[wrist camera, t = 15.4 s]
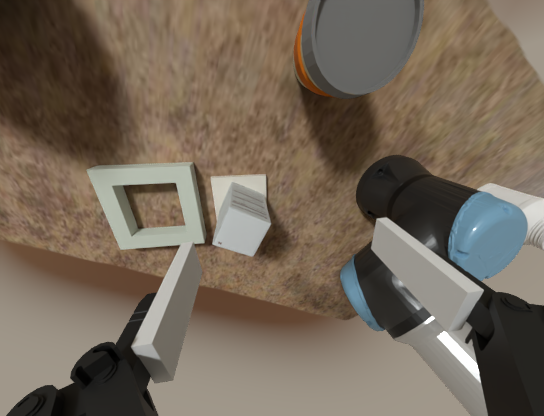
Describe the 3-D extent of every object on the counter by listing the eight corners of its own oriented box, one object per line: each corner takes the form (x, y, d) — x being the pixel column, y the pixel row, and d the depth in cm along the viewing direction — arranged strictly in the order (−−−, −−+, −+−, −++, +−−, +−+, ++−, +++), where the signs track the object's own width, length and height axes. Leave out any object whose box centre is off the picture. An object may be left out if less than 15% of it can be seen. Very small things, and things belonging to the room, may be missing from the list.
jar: (509, 196, 52) (599, 225, 39) (479, 225, 56) (553, 261, 42) (485, 178, 49) (575, 204, 36) (455, 210, 52) (527, 244, 39)
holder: (193, 162, 38) (189, 166, 36) (206, 235, 46) (204, 243, 43) (97, 165, 36) (86, 169, 34) (128, 241, 44) (120, 249, 41)
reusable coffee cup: (266, 54, 32) (283, 16, 19) (328, -12, 30) (396, -111, 16) (311, 117, 38) (348, 121, 24) (366, 65, 35) (442, 37, 22)
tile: (265, 174, 41) (265, 175, 40) (266, 219, 46) (266, 222, 45) (211, 176, 40) (210, 177, 39) (218, 223, 45) (217, 225, 44)
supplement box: (250, 221, 45) (252, 258, 33) (218, 209, 42) (210, 245, 31) (265, 193, 42) (272, 224, 31) (232, 179, 40) (227, 206, 29)
